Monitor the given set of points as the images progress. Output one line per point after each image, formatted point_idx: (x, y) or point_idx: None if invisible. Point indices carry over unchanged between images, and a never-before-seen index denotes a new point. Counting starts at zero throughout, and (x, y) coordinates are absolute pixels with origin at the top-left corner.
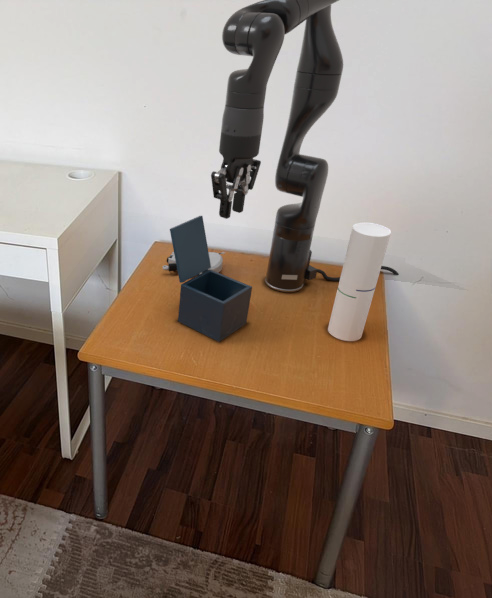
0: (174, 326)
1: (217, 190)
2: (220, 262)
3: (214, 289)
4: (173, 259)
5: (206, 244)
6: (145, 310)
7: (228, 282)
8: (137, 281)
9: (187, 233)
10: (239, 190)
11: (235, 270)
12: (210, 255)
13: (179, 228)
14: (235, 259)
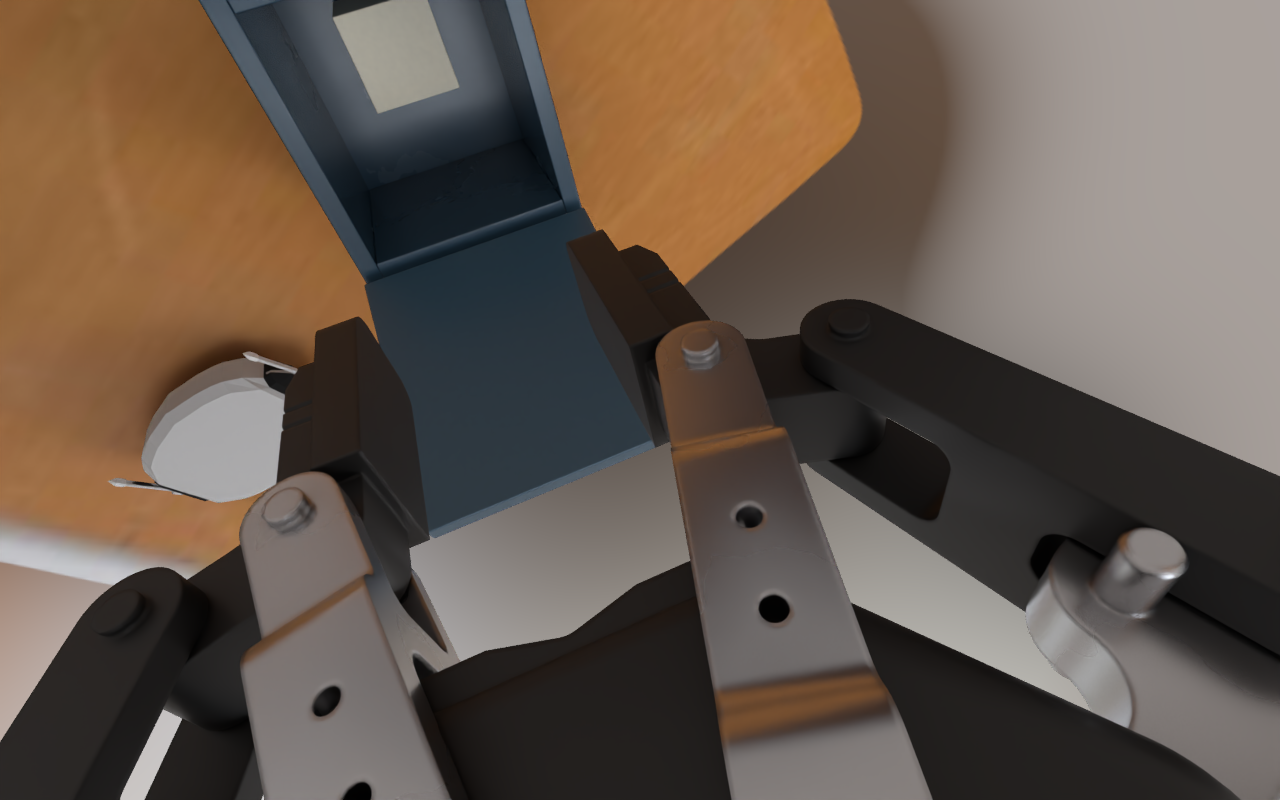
0: (566, 118)
1: (892, 475)
2: (178, 413)
3: (356, 194)
4: None
5: None
6: None
7: (313, 146)
8: None
9: (562, 416)
10: (389, 554)
11: (73, 396)
12: (203, 469)
13: (635, 432)
14: (31, 471)
